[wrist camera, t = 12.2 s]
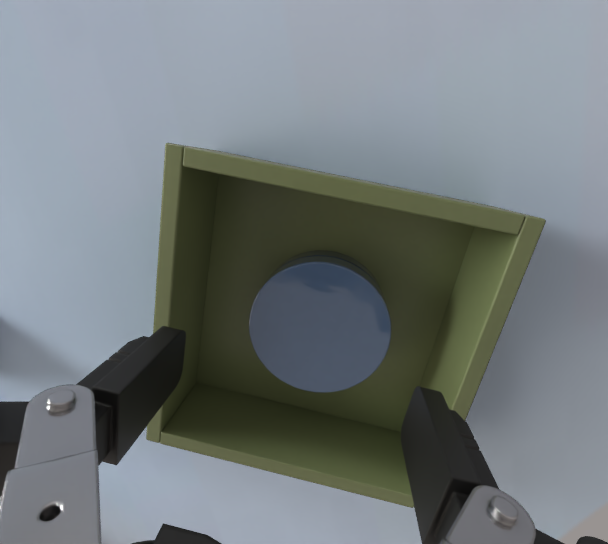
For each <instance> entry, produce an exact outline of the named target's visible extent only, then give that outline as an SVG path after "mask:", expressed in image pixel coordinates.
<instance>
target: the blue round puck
mask: <svg viewBox="0 0 608 544" xmlns="http://www.w3.org/2000/svg"><path fill="white" fill-rule="evenodd" d="M391 331H392V329H391V319H390V315H389V311H388V307H387V304H386V301H385V298H384V294H383V292H382V289H381V287H380V285H379V283H378V281H377V279H376V278H375V277H374V275H373V274H372V273H371V272H370V271H369V270H368V269H367V268H366V267H365V266H364V265H363V264H361V263H360V262H359V261H357V260H355V259H354V258H352V257H350V256H347V255H345V254H342V253H338V252H334V251H328V250H315V251H308V252H304V253H300V254H298V255H295V256H293V257H291V258H289V259H287V260H286V261H284V262H283V263H282V264H280V265H279V266H278V267H277V268H276V269H275V270H274V271H273V273H272V274H271V275H270V277H269V278H268V279H267V281H266V282H265V283H264V285H263V286H262V288H261V289H260V290H259V292H258V293H257V295H256V297H255V299H254V301H253V304H252V307H251V311H250V315H249V333H250V338H251V342H252V345H253V348H254V350H255V352H256V354H257V356H258V357H259V359H260V360H261V362H262V363H263V365H264V366H265V367H266V368H267V369H268V370H269V371H270V372H271V373H272V374H273V375H274V376H276V377H277V378H278V379H280V380H281V381H283V382H285V383H287V384H288V385H291V386H293V387H295V388H298V389H301V390H305V391H310V392H319V393H327V392H336V391H341V390H345V389H348V388H351V387H353V386H355V385H357V384H359V383H361V382H362V381H364V380H365V379H367V378H368V377H369V376H370V375H371V374H372V373H373V372H374V371H375V370H376V369H377V368H378V367H379V365H380V364H381V363H382V361H383V359H384V358H385V356H386V354H387V351H388V348H389V345H390V340H391Z"/></svg>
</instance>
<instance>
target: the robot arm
mask: <svg viewBox="0 0 608 544" xmlns="http://www.w3.org/2000/svg"><path fill="white" fill-rule="evenodd" d="M185 344H186V332H185V331H184V330H180V329H175V328H171V327H167V326H162V327H161V328H159V329H158V330H157V331H156V332H155V333H154V334H153V335H151V336H150V337H145V336H143V337H140V338H138V339H135V340H133V341H130V342H128V343H127V344H126V345H125V346H123V347H122V348H121V349H120V350H118V352H117V353H115V354H113V355H112V356H111V357H110V358H109V360H106V361H105V362H104V363H102V364H101V365H100V366H99V367H97V368H96V369H95V370H94V371H92V372H91V373H90V374H89V375H87V376H86V377H85V378H84V379H83V380H81V381H80V382H79V383H78V384H76V385H61V386H56V387H53V388H50V389H47V390H45V391H43V392H41V393H39V394H38V395H36V396H35V397H34V398H32V399H31V401H30V402H0V496H1V501H0V544H101V522H100V497H99V473H98V466H99V465H100V463H101V462H106V463H110V464H114V465H117V464H118V463H119V462H120V460H121V459H122V458H123V456H124V455H125V454H126V452H127V451H128V450H129V448H130V447H131V446H132V445H133V443H134V442H135V441H136V439H137V438H138V437H139V435H140V434H141V433H142V431H143V430H144V429H145V428H146V426H147V425H148V424H149V422H150V421H151V420H152V418H153V417H154V416H155V414H156V413H157V412H158V410H159V409H160V408H161V407H162V405H163V404H164V403H165V401H166V400H167V399H168V397H169V396H170V395H171V393H172V392H173V391H174V390H175V388H176V387H177V385H178V383H179V381H180V378H181V375H182V371H183V363H184V353H185ZM401 445H402V450H403V455H404V459H405V464H406V469H407V474H408V478H409V483H410V488H411V493H412V498H413V502H414V507H415V512H416V517H417V521H418V526H419V531H420V536H421V540H422V544H564V543H562V542H560V541H558V540H556V539H554V538H552V537H550V536H548V535H546V534H544V533H542V532H541V531H539V530H537V529H535V526H534V523H533V521H532V519H531V517H530V516H529V514H528V513H527V511H526V510H525V509H524V508H523V507H522V506H521V505H520V504H519V503H518V502H517V501H516V500H515V499H514V498H512V497H511V496H510V495H508V494H506V493H505V492H503V491H501V490H499V488H498V486H497V484H496V482H495V480H494V478H493V475H492V473H491V471H490V469H489V467H488V465H487V463H486V461H485V459H484V457H483V455H482V453H481V451H479V447H478V445H477V443H476V440H474V436H473V434H472V432H471V430H470V428H469V426H468V424H467V423H466V422H465V421H464V420H463V418H462V417H461V416H460V415H459V414H458V413H457V412H456V411H454V410H450V409H449V408H448V405H447V403H446V401H445V399H444V396H443V394H442V393H441V392H440V391H436V390H432V389H428V388H424V387H419V386H417V387H416V388H415V390H414V392H413V395H412V398H411V401H410V403H409V406H408V409H407V412H406V415H405V418H404V421H403V424H402V428H401ZM132 544H221V543H219V542H218V541H216V540H214V539H213V538H211V537H210V536H208V535H205V534H201V533H197V532H193V531H190V530H186V529H182V528H178V527H174V526H171V525H167V524H163V525H162V527H161V529H160V531H159V533H158V535H157V537H156V539H155V540H150V541H142V542H136V543H132ZM576 544H608V543H607V542H605V541H603V540H600V539H597V538H594V537H588V536H585V537H581V538H580V539H579V540H578V541H577V543H576Z"/></svg>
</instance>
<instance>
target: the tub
mask: <svg viewBox="0 0 608 544" xmlns="http://www.w3.org/2000/svg"><path fill="white" fill-rule="evenodd" d="M545 222H546V220H545V219H542V218H538V217H534V216H530V215H526V214H522V213H518V212H513V211H509V210H505V209H501V208H497V207H493V206H488V205H483V204H478V203H474V202H469V201H464V200H459V199H454V198H449V197H444V196H439V195H434V194H429V193H424V192H419V191H414V190H409V189H404V188H399V187H394V186H389V185H384V184H379V183H374V182H369V181H364V180H359V179H354V178H350V177H345V176H340V175H335V174H330V173H325V172H320V171H315V170H310V169H305V168H300V167H295V166H290V165H285V164H280V163H275V162H270V161H265V160H260V159H255V158H250V157H245V156H240V155H235V154H231V153H226V152H221V151H216V150H209V149H203V148H197V147H190V146H184V145H178V144H172V143H166V145H165V160H164V175H163V191H162V206H161V222H160V237H159V252H158V268H157V283H156V299H155V314H154V330H153V334H154V333H155V332H156V331H157V330H158V329H159V328H161V327H162V326H167V327H171V328H175V329H180V330H184V331H185V332H186V344H185V353H184V363H183V371H182V375H181V378H180V381H179V383H178V385H177V387H176V388H175V390H174V391H173V392H172V393H171V395H170V396H169V397H168V399H167V400H166V401H165V403H164V404H163V405H162V407H161V408H160V409H159V410H158V412H157V413H156V414H155V416H154V417H153V418H152V420H151V421H150V422H149V424H148V425H147V438H146V439H147V440H150V441H154V442H157V443H159V442H160V443H161V444H164V445H168V446H172V447H176V448H180V449H184V450H188V451H192V452H196V453H199V454H203V455H207V456H211V457H215V458H219V459H223V460H227V461H231V462H235V463H239V464H243V465H247V466H250V467H254V468H258V469H262V470H266V471H270V472H274V473H278V474H282V475H286V476H290V477H294V478H298V479H301V480H305V481H309V482H313V483H317V484H321V485H325V486H329V487H333V488H337V489H341V490H345V491H349V492H352V493H356V494H360V495H364V496H368V497H372V498H376V499H380V500H384V501H388V502H392V503H396V504H399V505H403V506H407V507H411V508H413V506H414V502H413V498H412V493H411V488H410V483H409V478H408V474H407V469H406V464H405V459H404V455H403V450H402V445H401V428H402V424H403V421H404V418H405V415H406V412H407V409H408V406H409V403H410V401H411V398H412V395H413V392H414V390H415V388H416V387H417V386H419V387H424V388H428V389H432V390H436V391H440V392H441V393H442V394H443V396H444V399H445V401H446V403H447V405H448V408H449V409H450V410H454V411H456V412H457V413H458V414H459V415H460V416H461V417H462V418H463V420H464V421H465V419H466V417H467V415H468V412H469V410H470V407H471V405H472V402H473V400H474V397H475V395H476V392H477V390H478V387H479V385H480V382H481V380H482V378H483V375H484V373H485V370H486V368H487V365H488V363H489V360H490V358H491V355H492V353H493V350H494V348H495V345H496V343H497V341H498V338H499V336H500V333H501V331H502V328H503V326H504V323H505V321H506V318H507V316H508V313H509V311H510V308H511V306H512V304H513V301H514V299H515V296H516V294H517V291H518V289H519V286H520V284H521V281H522V279H523V276H524V274H525V271H526V269H527V267H528V264H529V262H530V259H531V257H532V254H533V252H534V249H535V247H536V244H537V242H538V239H539V237H540V234H541V232H542V230H543V227H544V225H545ZM315 250H328V251H334V252H338V253H342V254H345V255H347V256H350V257H352V258H354V259H355V260H357V261H359V262H360V263H361V264H363V265H364V266H365V267H366V268H367V269H368V270H369V271H370V272H371V273H372V274H373V275H374V277H375V278H376V279H377V281H378V283H379V285H380V287H381V289H382V292H383V294H384V298H385V301H386V304H387V307H388V311H389V315H390V319H391V329H392V331H391V340H390V345H389V348H388V351H387V354H386V356H385V358H384V359H383V361H382V363H381V364H380V365H379V367H378V368H377V369H376V370H375V371H374V372H373V373H372V374H371V375H370V376H369V377H368V378H367V379H365V380H364V381H362V382H361V383H359V384H357V385H355V386H353V387H351V388H348V389H345V390H341V391H336V392H327V393H319V392H310V391H305V390H301V389H298V388H295V387H293V386H291V385H288V384H287V383H285V382H283V381H281V380H280V379H278V378H277V377H276V376H274V375H273V374H272V373H271V372H270V371H269V370H268V369H267V368H266V367H265V366H264V365H263V363H262V362H261V360H260V359H259V357H258V356H257V354H256V352H255V350H254V348H253V345H252V342H251V338H250V333H249V315H250V311H251V307H252V304H253V301H254V299H255V297H256V295H257V293H258V292H259V290H260V289H261V288H262V286H263V285H264V283H265V282H266V281H267V279H268V278H269V277H270V275H271V274H272V273H273V271H274V270H275V269H276V268H277V267H278V266H279V265H280V264H282V263H283V262H284V261H286V260H287V259H289V258H291V257H293V256H295V255H298V254H300V253H304V252H308V251H315ZM414 508H415V507H414Z"/></svg>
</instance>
